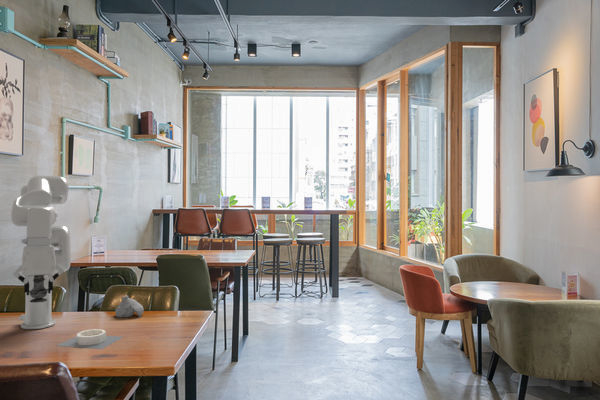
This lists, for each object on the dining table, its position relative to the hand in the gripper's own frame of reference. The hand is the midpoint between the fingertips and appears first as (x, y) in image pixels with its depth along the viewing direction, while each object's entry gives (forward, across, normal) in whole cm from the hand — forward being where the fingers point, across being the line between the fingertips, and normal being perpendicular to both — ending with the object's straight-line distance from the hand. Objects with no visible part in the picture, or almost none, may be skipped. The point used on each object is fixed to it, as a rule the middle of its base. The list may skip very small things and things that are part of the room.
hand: (38, 293), depth 155 cm
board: (+21, +17, +1) cm, 27 cm away
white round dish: (+20, +17, +1) cm, 26 cm away
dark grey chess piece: (+3, 0, 0) cm, 3 cm away
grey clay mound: (+22, +36, +37) cm, 56 cm away
